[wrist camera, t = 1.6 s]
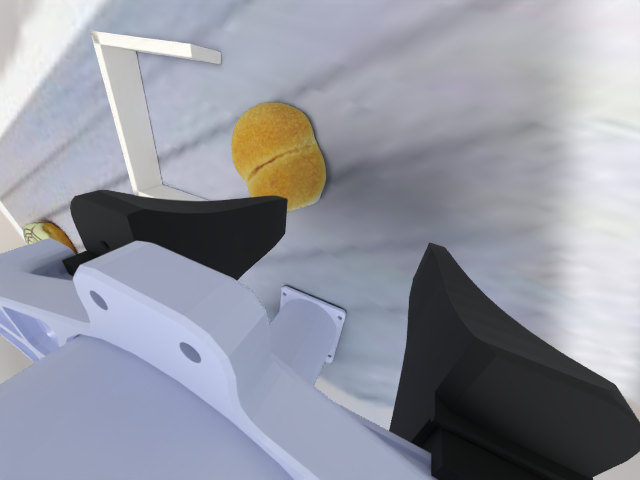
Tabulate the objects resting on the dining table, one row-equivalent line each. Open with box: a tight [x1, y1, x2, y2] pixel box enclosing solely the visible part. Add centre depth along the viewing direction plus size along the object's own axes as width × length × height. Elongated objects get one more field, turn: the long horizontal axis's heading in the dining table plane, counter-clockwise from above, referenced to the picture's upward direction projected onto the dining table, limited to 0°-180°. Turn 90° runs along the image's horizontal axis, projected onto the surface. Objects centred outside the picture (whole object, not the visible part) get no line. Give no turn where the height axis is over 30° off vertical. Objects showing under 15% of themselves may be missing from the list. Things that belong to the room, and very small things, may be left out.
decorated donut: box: [23, 222, 76, 254], centre depth 48 cm, size 10×11×4 cm
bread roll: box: [232, 102, 326, 213], centre depth 20 cm, size 8×9×4 cm
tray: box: [90, 31, 221, 201], centre depth 24 cm, size 15×11×3 cm
